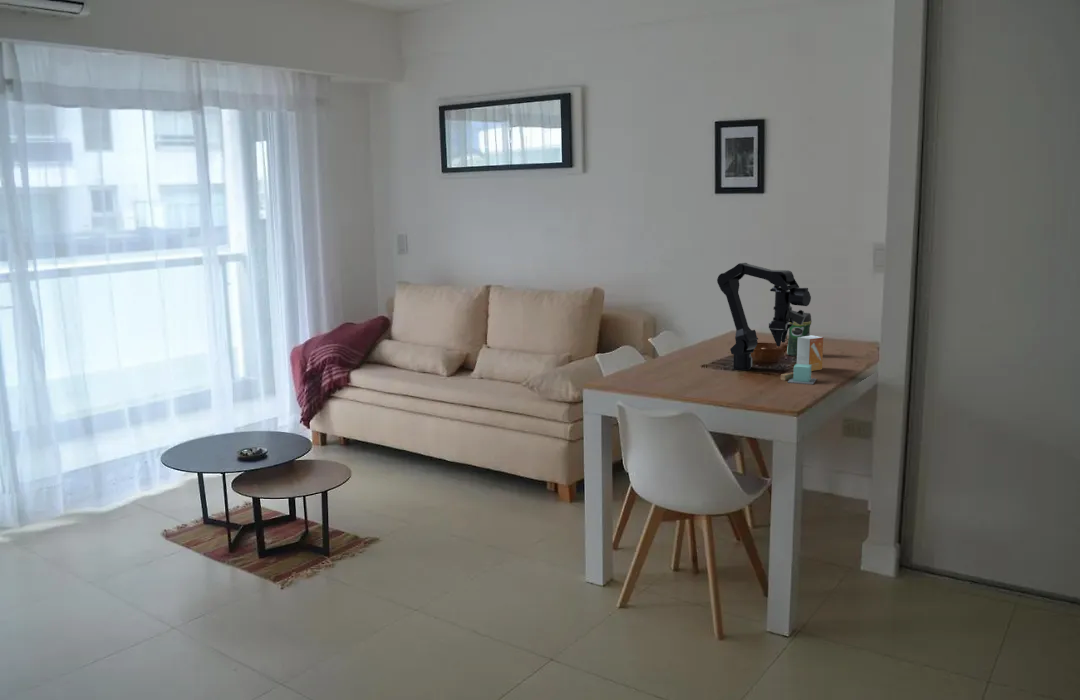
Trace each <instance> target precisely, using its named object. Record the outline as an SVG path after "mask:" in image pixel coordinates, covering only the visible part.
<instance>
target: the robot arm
mask: <svg viewBox="0 0 1080 700" xmlns="http://www.w3.org/2000/svg"><path fill="white" fill-rule="evenodd" d="M745 275H746V276H750V277H755V278H758V279H760V280H761V279H762V280H766V281H768V282H769V283H770V284H772V285H773V287H772V288H770V289H769V291H770V292H773V293H774V306H773V310H774V311H773V312H774V315H773V317H772V320H771V321H770V322H768V329H769V331H770V332H771V335H772V338H773V341H774V342H775V344H776V346H777V347H781V343H785V342H786V339H787V336H788V333H789V328H790V327H791V326H792V325H793V324H789V322H791V323H794V322H796V323H797V324H800V325H801V324H803V321H804V319H805V317H806V316H805V315H804V313H805V312H804V310H802V309H799V310H798V311H796V310H793V307H792V306H801V307H808V306H809V305H810V303H811V300H812V295H811V293H810V291H809V288H808V287H800V285H799V284H798V283H797V281H796V279H795V278H794V277H795V276H794V274H793V272H792V271H791V270H786V269H785V270H784V269H770V268H765V267H761V266H758V265H754V264H750V263H748V262H741V263H737V264H736V265H735V266H734V267H732V268H731V269H729V270H727V271H725V272H722V273H719V275H718V276H717V279H716V282H717V285H718V287H719V288H720V291H721V292H722V293H723V294H724V295H725V297H726V299H727V300H726V301H727V303H728V306H729V311H730V313H731V316H732V320H733V323H734V327H735V336H734V339H735V340H734V342H735V343H734V345H733V346H732V347H731V348H730V349H729V351H730V353H731V355H733V365H732V366H733V367H732V368H731V369H732V370H738V371H739V370H741V371H749V370H750V369H752V368H751V367H753V357H752V354H753V353H754V351H755V348H757V345H758V340H759V338H758V335H757V333H756V332H757V331H756V329H752V328H750V326H749V324H748V321H747V317H746V314H745V311H744V307H743V304H742V301H741V298H740V295H739V291H740V280H742V279H743V277H745ZM791 305H792V306H791Z"/></svg>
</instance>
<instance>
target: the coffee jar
mask: <svg viewBox="0 0 1080 700" xmlns="http://www.w3.org/2000/svg"><path fill="white" fill-rule="evenodd" d="M804 315H805V316H806V317H805V319H804V321H803V324H801V325H800V324H797V323H796V322H794V323H791V322H789V324H793V325H792V326H791V327H790V328H789V329H788V341H787V349H786V350H787V351H786V354H787V355H788V356H789V357H790V356H791V357H797V341H798V337H803V336H810V335H811V332H810V328H811V325H812V315H811V313H810V312H804Z"/></svg>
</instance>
